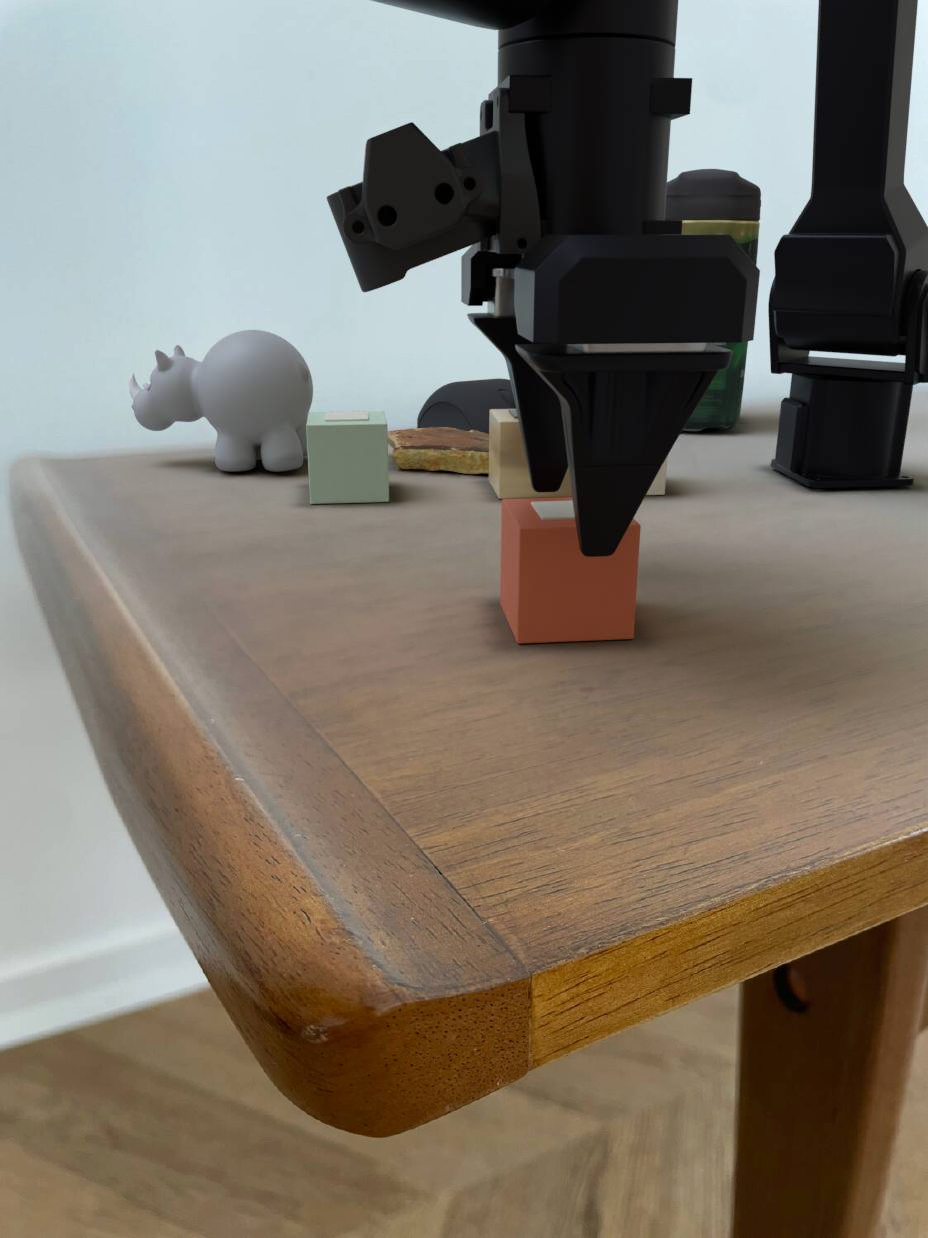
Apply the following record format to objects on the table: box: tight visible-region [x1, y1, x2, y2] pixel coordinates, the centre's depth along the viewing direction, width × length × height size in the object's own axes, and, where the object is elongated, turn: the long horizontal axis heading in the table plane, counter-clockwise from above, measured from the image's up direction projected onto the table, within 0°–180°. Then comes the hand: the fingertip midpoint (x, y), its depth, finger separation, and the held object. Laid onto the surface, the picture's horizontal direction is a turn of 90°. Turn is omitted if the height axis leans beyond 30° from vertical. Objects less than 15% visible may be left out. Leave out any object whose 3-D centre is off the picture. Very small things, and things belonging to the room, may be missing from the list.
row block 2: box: [488, 409, 572, 500], centre depth 60 cm, size 4×4×4 cm
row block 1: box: [306, 410, 390, 505], centre depth 59 cm, size 4×4×4 cm
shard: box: [388, 427, 489, 475], centre depth 66 cm, size 11×8×2 cm
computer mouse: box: [416, 378, 516, 434], centre depth 77 cm, size 6×11×4 cm, turn 30°
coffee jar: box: [665, 168, 762, 432], centre depth 79 cm, size 10×8×19 cm
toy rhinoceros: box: [128, 329, 314, 473], centre depth 66 cm, size 7×12×8 cm, turn 82°
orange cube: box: [499, 497, 642, 644], centre depth 40 cm, size 4×4×4 cm
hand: (568, 519), depth 39 cm, fingers open, 9 cm apart
